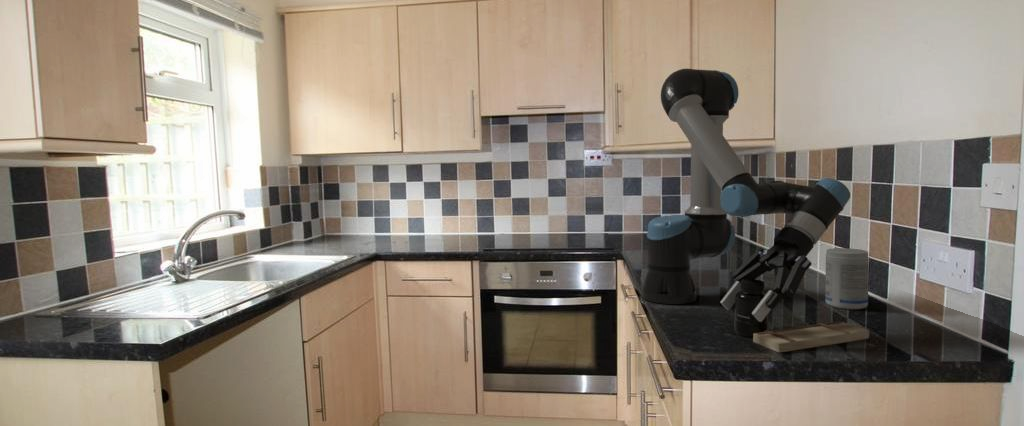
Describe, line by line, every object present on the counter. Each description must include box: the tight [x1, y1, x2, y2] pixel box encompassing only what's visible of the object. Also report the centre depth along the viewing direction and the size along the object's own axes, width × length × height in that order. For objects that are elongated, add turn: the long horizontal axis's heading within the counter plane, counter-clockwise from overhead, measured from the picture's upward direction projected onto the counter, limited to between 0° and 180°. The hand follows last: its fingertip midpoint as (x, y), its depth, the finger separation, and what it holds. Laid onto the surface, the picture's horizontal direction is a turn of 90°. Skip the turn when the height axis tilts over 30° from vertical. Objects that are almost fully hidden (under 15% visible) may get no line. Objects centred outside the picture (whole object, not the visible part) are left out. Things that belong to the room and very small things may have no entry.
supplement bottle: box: [733, 278, 769, 339], centre depth 116 cm, size 7×7×12 cm
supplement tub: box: [824, 247, 870, 310], centre depth 137 cm, size 10×10×15 cm
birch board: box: [752, 320, 870, 353], centre depth 111 cm, size 7×24×2 cm, turn 107°
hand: (739, 311), depth 115 cm, fingers open, 9 cm apart
